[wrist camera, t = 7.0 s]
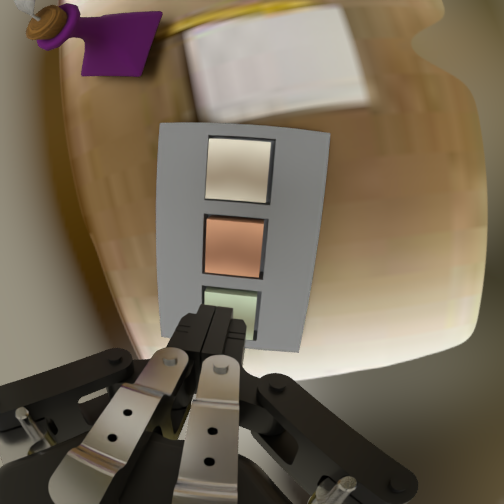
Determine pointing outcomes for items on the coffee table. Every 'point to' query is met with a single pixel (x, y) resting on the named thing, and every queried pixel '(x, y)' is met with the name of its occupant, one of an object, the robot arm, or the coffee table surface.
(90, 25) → the perfume bottle
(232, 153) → the cream tile
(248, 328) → the sage tile
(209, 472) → the robot arm
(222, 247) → the terracotta tile
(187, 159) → the tile board
